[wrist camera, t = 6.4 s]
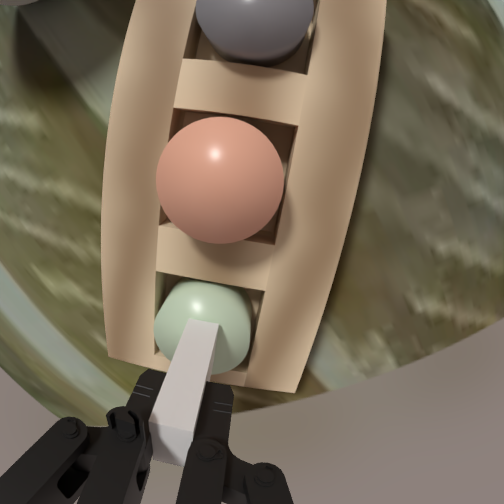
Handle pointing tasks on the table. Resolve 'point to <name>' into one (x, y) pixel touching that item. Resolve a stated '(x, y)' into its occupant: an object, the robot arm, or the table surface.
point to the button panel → (294, 169)
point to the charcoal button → (255, 28)
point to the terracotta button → (219, 180)
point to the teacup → (16, 2)
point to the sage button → (207, 319)
